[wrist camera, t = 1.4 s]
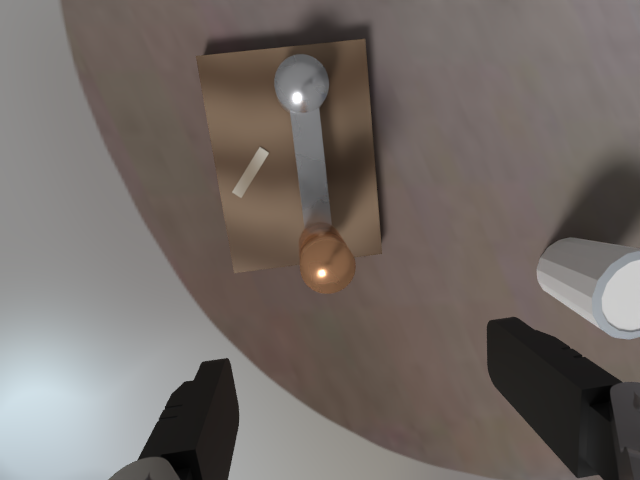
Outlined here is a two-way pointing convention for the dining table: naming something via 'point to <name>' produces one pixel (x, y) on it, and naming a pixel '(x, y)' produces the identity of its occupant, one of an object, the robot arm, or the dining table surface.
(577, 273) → the white cup
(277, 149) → the lever board
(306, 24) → the dining table surface
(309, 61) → the lever
